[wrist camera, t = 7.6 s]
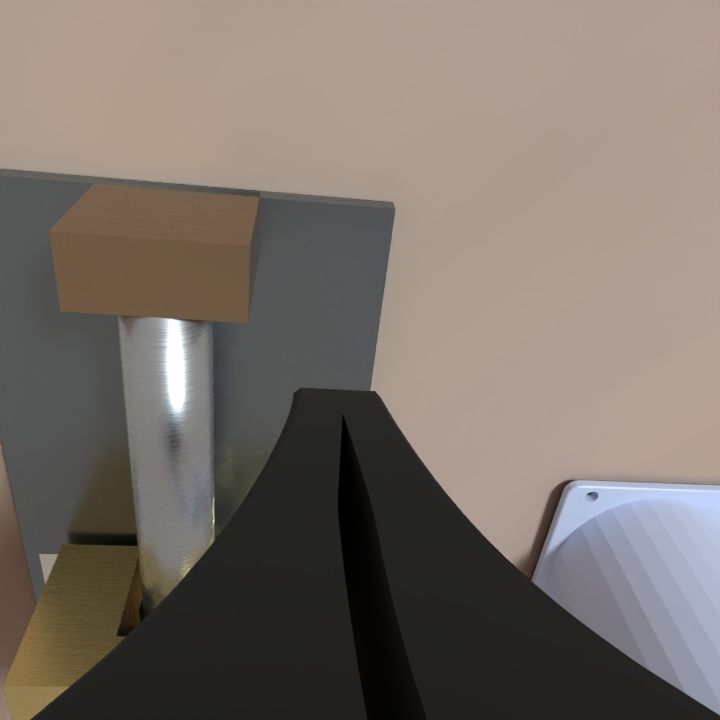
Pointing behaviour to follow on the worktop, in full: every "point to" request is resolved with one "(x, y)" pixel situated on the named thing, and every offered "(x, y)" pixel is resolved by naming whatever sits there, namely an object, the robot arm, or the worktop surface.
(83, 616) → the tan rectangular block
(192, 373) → the pipe rig
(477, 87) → the worktop surface
